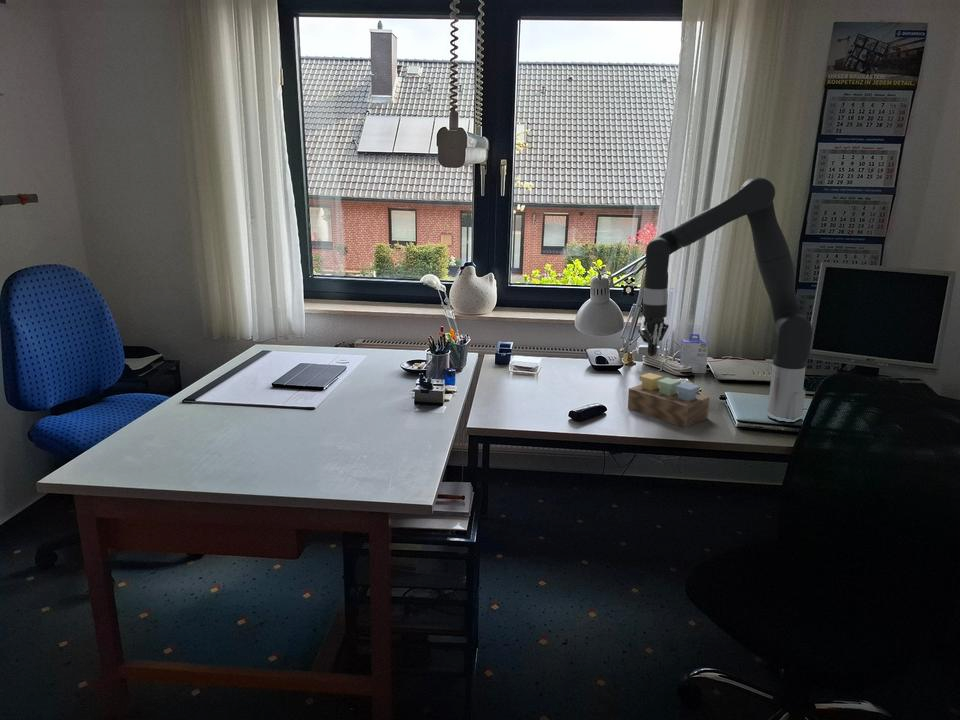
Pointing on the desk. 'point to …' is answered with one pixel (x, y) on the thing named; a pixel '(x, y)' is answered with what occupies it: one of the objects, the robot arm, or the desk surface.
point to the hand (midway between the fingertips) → (652, 354)
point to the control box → (668, 406)
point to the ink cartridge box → (694, 353)
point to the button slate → (687, 391)
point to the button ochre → (650, 381)
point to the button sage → (668, 386)
